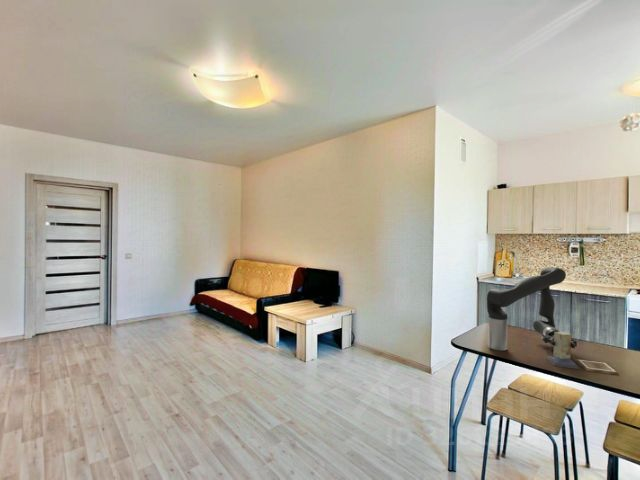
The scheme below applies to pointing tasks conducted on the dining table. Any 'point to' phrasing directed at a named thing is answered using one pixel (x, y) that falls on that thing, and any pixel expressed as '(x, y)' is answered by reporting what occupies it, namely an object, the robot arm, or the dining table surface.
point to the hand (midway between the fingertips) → (564, 345)
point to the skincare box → (562, 345)
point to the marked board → (597, 367)
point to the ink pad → (563, 362)
